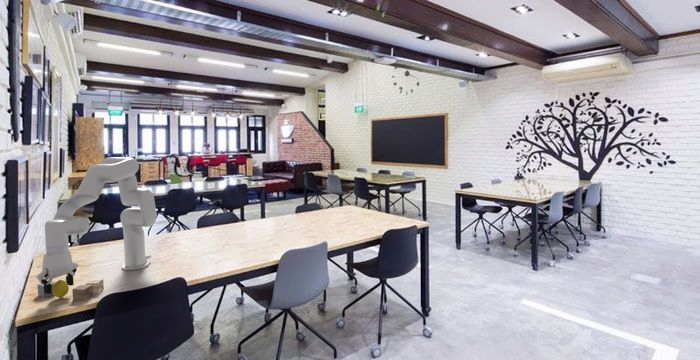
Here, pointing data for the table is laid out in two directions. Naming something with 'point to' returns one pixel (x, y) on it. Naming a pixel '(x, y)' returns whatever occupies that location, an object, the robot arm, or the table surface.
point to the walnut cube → (82, 292)
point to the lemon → (60, 288)
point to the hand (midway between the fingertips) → (59, 289)
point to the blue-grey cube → (41, 290)
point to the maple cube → (96, 285)
